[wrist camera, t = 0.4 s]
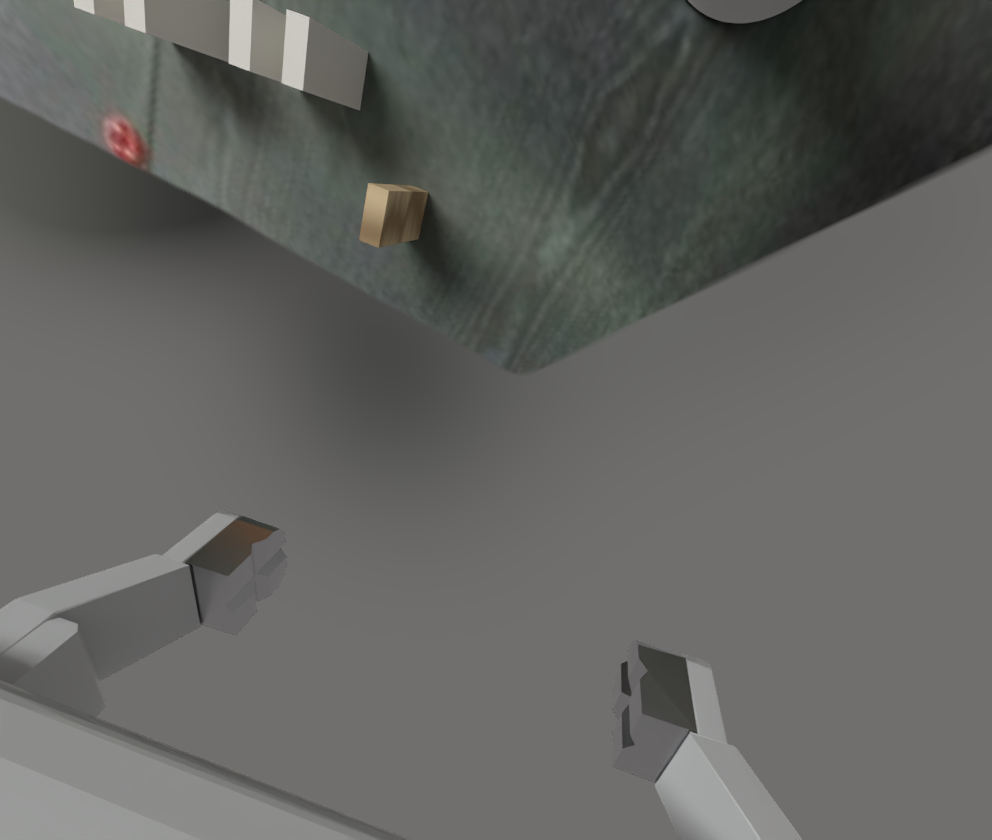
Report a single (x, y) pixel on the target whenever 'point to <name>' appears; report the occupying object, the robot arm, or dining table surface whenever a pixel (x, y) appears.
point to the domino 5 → (392, 214)
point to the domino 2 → (184, 23)
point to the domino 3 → (257, 38)
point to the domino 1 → (103, 8)
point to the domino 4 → (322, 62)
